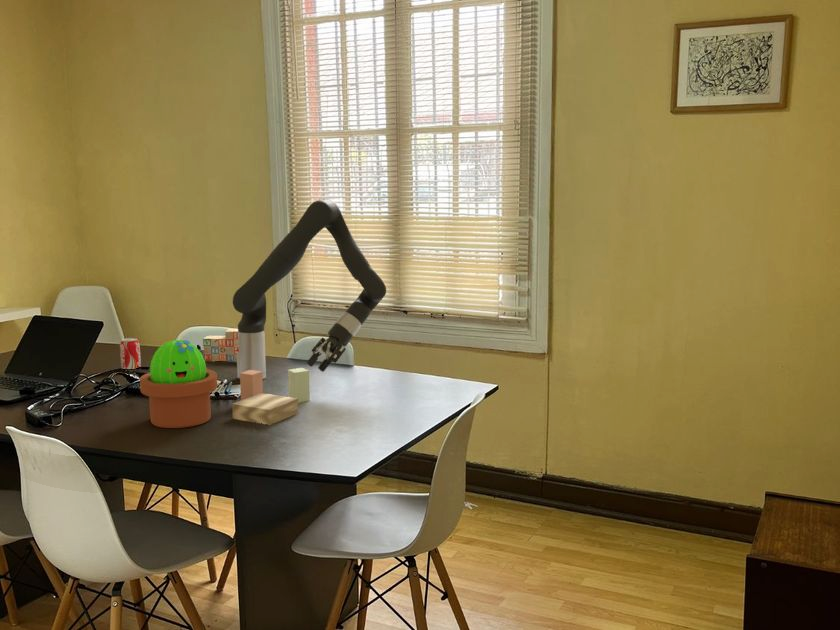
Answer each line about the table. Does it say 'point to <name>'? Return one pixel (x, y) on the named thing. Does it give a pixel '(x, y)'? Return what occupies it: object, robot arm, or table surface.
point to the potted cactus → (178, 386)
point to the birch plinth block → (265, 408)
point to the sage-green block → (299, 384)
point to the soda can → (130, 353)
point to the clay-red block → (251, 383)
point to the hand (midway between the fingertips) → (314, 367)
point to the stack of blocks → (222, 347)
